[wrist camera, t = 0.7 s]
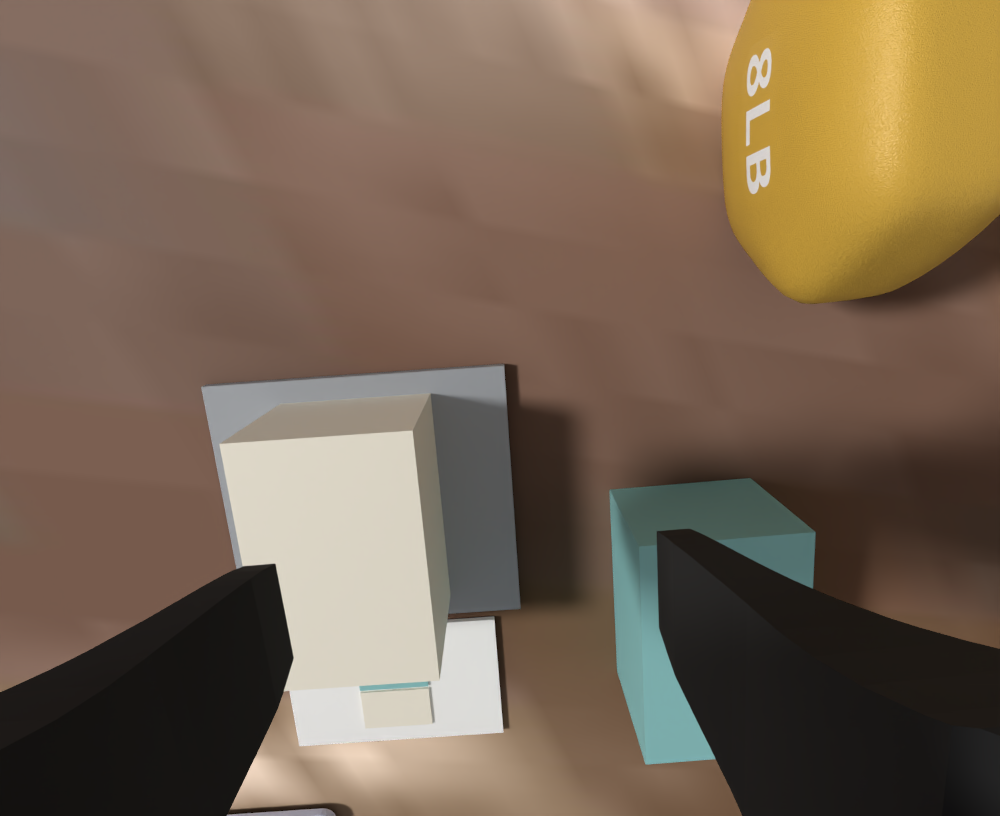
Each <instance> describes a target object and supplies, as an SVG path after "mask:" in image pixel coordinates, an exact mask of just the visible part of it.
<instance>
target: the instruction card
mask: <svg viewBox="0 0 1000 816" xmlns="http://www.w3.org/2000/svg"><path fill="white" fill-rule="evenodd" d="M290 697H291V702H292V708H293V713H294V719H295V724H296V730H297V735H298V741H299V746H310V745H325V744H340V743H355V742H370V741H384V740H399V739H414V738H429V737H444V736H459V735H474V734H488V733H503V719H502V707H501V694H500V682H499V669H498V657H497V644H496V632H495V619H494V616H492V617H478V618H463V619H448V620H447V627H446V635H445V643H444V651H443V658H442V666H441V674H440V681H427V682H412V683H397V684H382V685H367V686H353V687H338V688H323V689H308V690H294V691H290Z"/></svg>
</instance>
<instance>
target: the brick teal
mask: <svg viewBox="0 0 1000 816" xmlns="http://www.w3.org/2000/svg"><path fill="white" fill-rule="evenodd" d="M610 511H611V535H612V559H613V582H614V606H615V629H616V653H617V672H618V675H619V679H620V682H621V685H622V689H623V692H624V695H625V698H626V702H627V705H628V708H629V711H630V715H631V718H632V721H633V725H634V728H635V731H636V734H637V738H638V741H639V744H640V747H641V751H642V754H643V757H644V760H645V764H659V763H671V762H684V761H697V760H709V759H716V758H715V756H714V754H713V752H712V750H711V748H710V746H709V744H708V742H707V740H706V738H705V736H704V734H703V732H702V730H701V728H700V726H699V724H698V722H697V720H696V718H695V716H694V714H693V712H692V710H691V708H690V706H689V704H688V702H687V700H686V698H685V695H684V693H683V691H682V689H681V687H680V685H679V683H678V681H677V679H676V677H675V674H674V671H673V668H672V666H671V663H670V660H669V657H668V654H667V651H666V648H665V645H664V642H663V639H662V636H661V633H660V630H659V612H658V572H657V531H665V530H677V529H692V530H695V531H697V532H699V533H701V534H703V535H706V536H708V537H709V538H711V539H713V540H715V541H717V542H719V543H721V544H723V545H725V546H727V547H729V548H731V549H733V550H734V551H736V552H738V553H740V554H742V555H744V556H746V557H748V558H750V559H752V560H754V561H756V562H758V563H759V564H761V565H763V566H765V567H767V568H769V569H771V570H773V571H775V572H778V573H780V574H782V575H784V576H786V577H788V578H790V579H792V580H794V581H797V582H799V583H801V584H803V585H806V586H808V587H810V588H812V589H813V576H814V555H815V534H816V532H815V531H814V530H812V529H811V528H810V527H809V526H808V525H806V524H805V523H804V522H803V521H802V520H800V519H799V518H798V517H797V516H796V515H794V514H793V513H792V512H791V511H790V510H788V509H787V508H786V507H785V506H784V505H782V504H781V503H780V502H779V501H777V500H776V499H775V498H774V497H773V496H771V495H770V494H769V493H768V492H767V491H765V490H764V489H763V488H762V487H761V486H759V485H758V484H757V483H756V482H755V481H753V480H752V479H751V478H744V479H732V480H720V481H708V482H696V483H684V484H672V485H660V486H648V487H636V488H624V489H612V490H610Z"/></svg>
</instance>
